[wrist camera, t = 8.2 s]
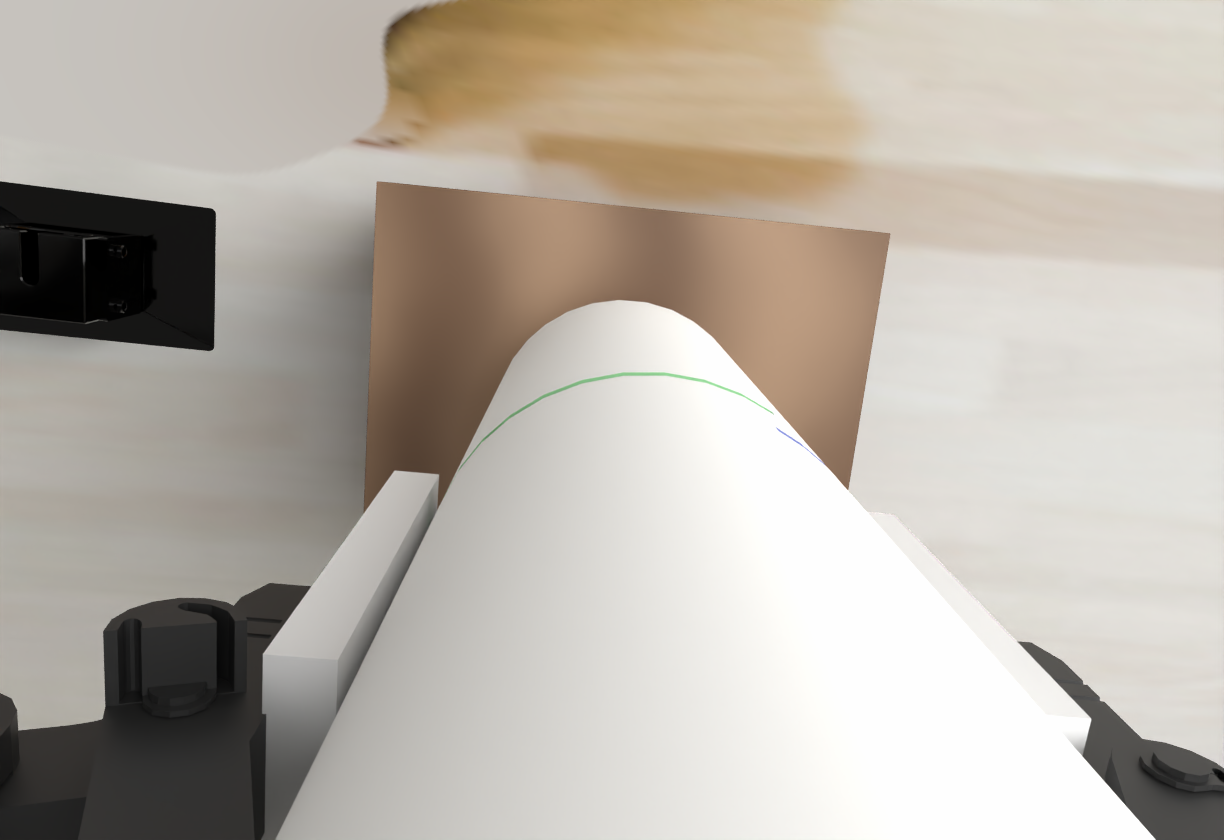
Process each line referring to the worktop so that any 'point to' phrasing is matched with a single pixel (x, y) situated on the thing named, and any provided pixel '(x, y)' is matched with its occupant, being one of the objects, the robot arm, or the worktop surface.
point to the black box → (106, 267)
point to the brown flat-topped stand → (599, 272)
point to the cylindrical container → (676, 637)
